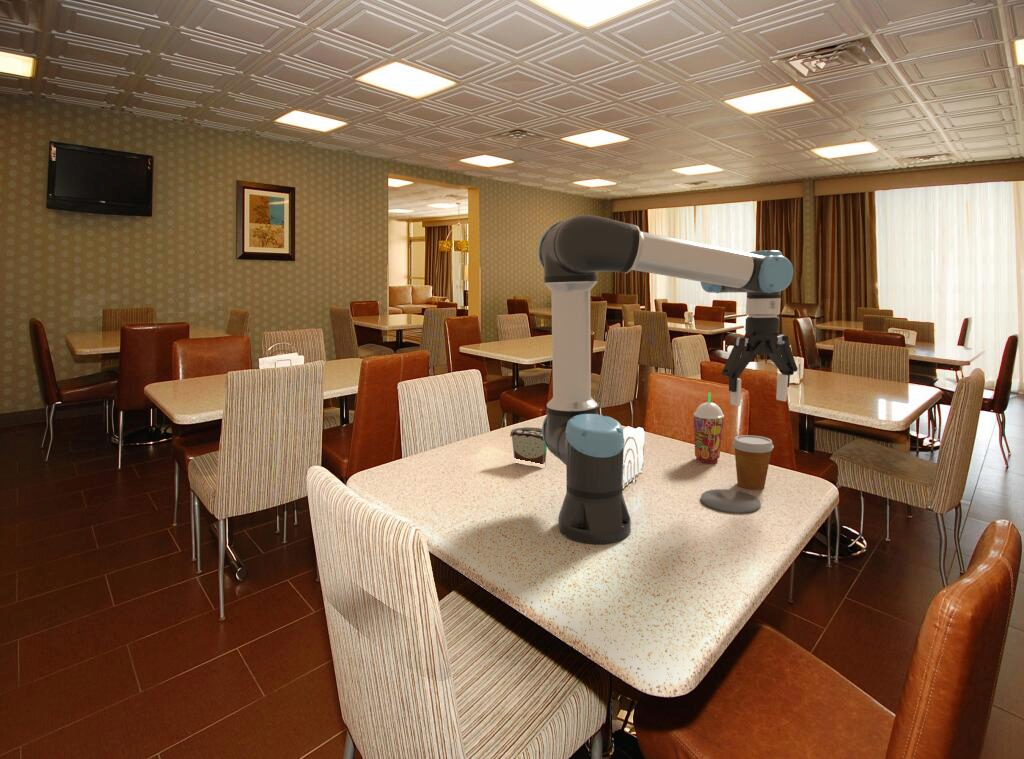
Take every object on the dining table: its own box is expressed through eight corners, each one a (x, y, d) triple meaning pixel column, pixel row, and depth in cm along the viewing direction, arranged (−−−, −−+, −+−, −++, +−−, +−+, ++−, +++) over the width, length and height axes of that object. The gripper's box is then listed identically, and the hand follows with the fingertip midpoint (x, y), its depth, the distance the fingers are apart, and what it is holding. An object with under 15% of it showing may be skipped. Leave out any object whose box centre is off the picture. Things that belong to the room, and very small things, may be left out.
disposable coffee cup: (775, 493, 136) (778, 445, 134) (734, 491, 138) (736, 444, 136) (766, 480, 145) (768, 435, 143) (727, 478, 147) (729, 434, 145)
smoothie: (686, 457, 165) (688, 391, 162) (710, 455, 168) (712, 389, 165) (703, 466, 157) (706, 396, 154) (728, 463, 160) (731, 394, 157)
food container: (557, 463, 162) (557, 430, 161) (547, 469, 157) (547, 434, 156) (521, 457, 169) (520, 425, 167) (510, 462, 164) (509, 429, 162)
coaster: (722, 515, 123) (722, 512, 123) (690, 495, 136) (690, 492, 136) (773, 509, 126) (773, 506, 126) (737, 490, 139) (737, 487, 138)
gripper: (728, 318, 128) (725, 409, 131) (816, 314, 134) (811, 401, 138) (708, 317, 135) (705, 403, 138) (793, 313, 142) (788, 395, 145)
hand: (758, 402), depth 138 cm, fingers open, 13 cm apart
